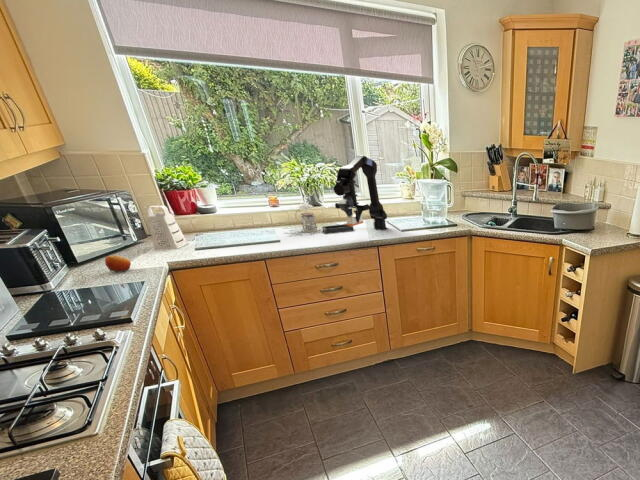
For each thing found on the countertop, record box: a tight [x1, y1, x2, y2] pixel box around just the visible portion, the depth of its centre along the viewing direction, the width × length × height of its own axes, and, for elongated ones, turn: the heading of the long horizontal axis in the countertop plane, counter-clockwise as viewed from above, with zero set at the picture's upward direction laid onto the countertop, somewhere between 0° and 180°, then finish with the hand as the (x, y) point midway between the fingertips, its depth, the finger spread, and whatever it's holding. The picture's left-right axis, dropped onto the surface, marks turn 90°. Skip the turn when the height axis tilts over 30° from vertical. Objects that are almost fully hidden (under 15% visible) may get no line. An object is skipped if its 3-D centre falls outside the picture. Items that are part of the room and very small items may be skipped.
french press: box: [294, 186, 320, 233], centre depth 246 cm, size 10×12×25 cm
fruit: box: [104, 254, 132, 275], centre depth 177 cm, size 8×8×8 cm
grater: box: [146, 205, 188, 250], centre depth 210 cm, size 10×10×20 cm
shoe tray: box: [321, 223, 354, 234], centre depth 253 cm, size 16×8×2 cm, turn 125°
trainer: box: [345, 213, 364, 227], centre depth 230 cm, size 9×4×4 cm, turn 161°
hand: (354, 222), depth 231 cm, fingers closed on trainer, 4 cm apart
